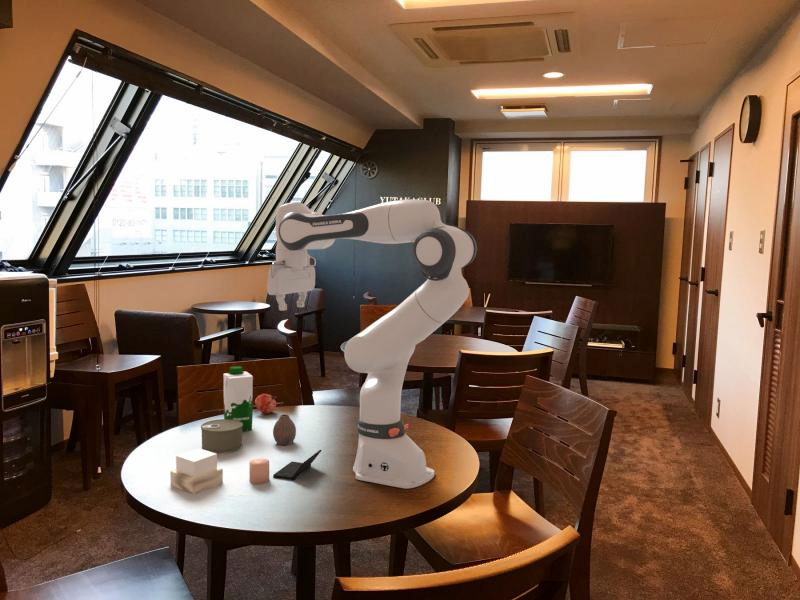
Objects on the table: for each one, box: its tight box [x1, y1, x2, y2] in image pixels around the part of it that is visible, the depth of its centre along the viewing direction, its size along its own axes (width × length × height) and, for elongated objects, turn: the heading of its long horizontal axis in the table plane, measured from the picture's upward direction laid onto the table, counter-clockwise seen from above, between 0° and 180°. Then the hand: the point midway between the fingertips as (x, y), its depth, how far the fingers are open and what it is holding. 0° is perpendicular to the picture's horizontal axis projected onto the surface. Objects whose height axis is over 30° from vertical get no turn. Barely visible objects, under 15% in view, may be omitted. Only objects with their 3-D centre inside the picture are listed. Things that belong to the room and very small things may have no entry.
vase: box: [272, 413, 297, 446], centre depth 192 cm, size 7×7×9 cm
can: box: [200, 418, 243, 455], centre depth 188 cm, size 12×12×7 cm
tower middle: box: [175, 448, 218, 477], centre depth 160 cm, size 7×7×4 cm
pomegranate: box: [254, 393, 277, 415], centre depth 224 cm, size 7×7×10 cm
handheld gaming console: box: [272, 449, 322, 481], centre depth 169 cm, size 12×7×10 cm
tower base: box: [169, 466, 224, 494], centre depth 160 cm, size 9×9×4 cm
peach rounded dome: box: [249, 458, 270, 485], centre depth 163 cm, size 5×5×5 cm
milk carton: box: [223, 365, 254, 432], centre depth 205 cm, size 9×9×20 cm
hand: (291, 308), depth 181 cm, fingers open, 8 cm apart
